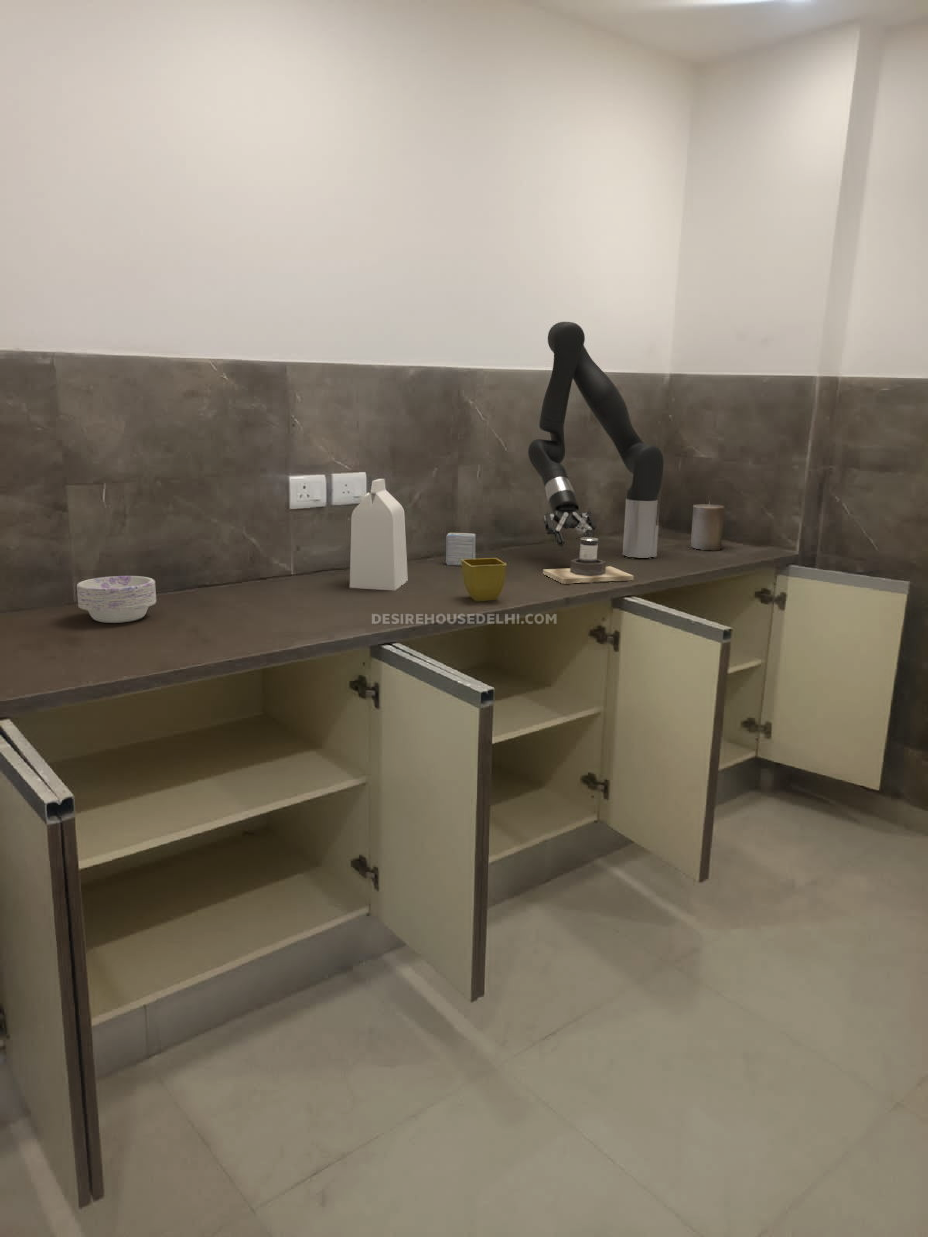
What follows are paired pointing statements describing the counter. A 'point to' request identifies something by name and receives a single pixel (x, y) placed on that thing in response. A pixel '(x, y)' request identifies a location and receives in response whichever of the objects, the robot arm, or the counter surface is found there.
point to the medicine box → (459, 547)
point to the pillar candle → (707, 526)
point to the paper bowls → (116, 597)
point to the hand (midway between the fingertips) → (576, 544)
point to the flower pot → (483, 577)
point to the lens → (588, 550)
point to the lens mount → (587, 573)
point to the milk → (378, 541)
